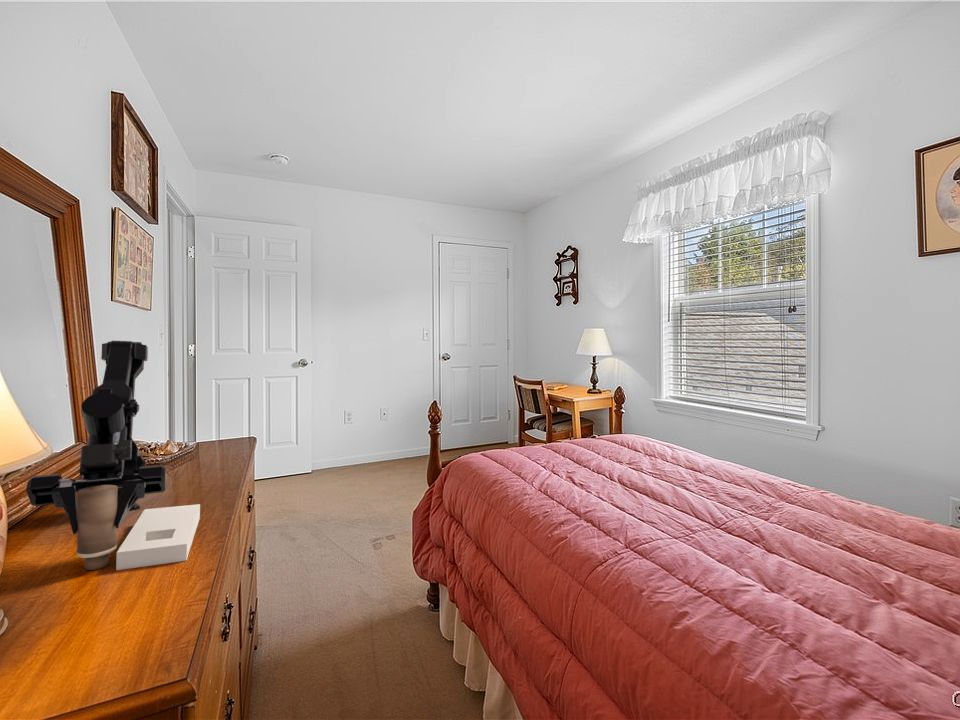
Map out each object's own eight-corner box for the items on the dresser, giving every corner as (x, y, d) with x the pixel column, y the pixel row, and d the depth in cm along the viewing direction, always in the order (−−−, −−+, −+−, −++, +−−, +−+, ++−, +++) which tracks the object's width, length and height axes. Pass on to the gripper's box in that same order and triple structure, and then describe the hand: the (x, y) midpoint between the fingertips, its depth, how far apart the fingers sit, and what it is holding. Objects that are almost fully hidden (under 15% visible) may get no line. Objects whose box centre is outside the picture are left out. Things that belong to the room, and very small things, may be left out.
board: (144, 523, 98) (144, 509, 98) (199, 517, 103) (200, 504, 102) (116, 570, 78) (116, 552, 78) (186, 560, 83) (186, 543, 83)
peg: (72, 565, 79) (74, 489, 79) (111, 555, 83) (113, 482, 83) (80, 576, 76) (81, 496, 75) (120, 565, 80) (121, 489, 79)
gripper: (29, 428, 77) (8, 516, 68) (166, 422, 87) (163, 498, 78) (41, 464, 84) (23, 548, 75) (166, 454, 94) (163, 528, 85)
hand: (96, 529), depth 78 cm, fingers closed on peg, 5 cm apart
